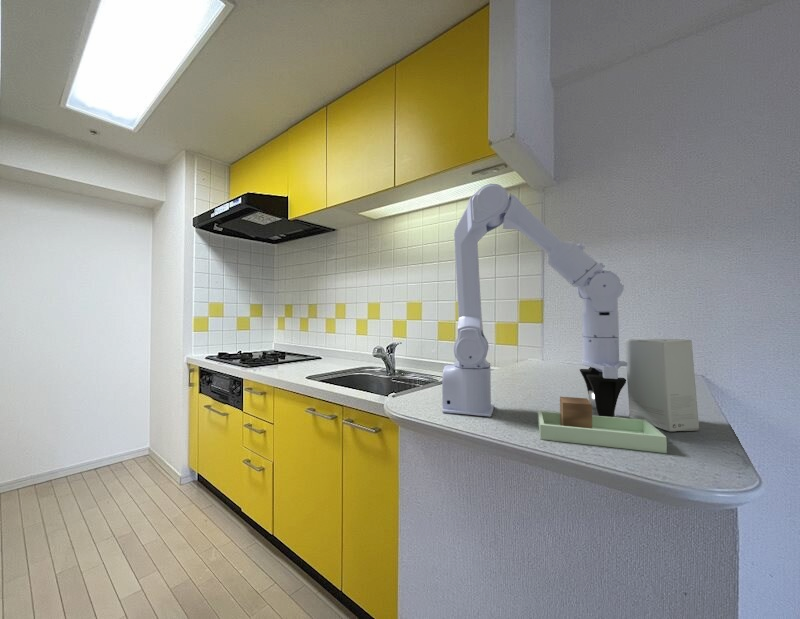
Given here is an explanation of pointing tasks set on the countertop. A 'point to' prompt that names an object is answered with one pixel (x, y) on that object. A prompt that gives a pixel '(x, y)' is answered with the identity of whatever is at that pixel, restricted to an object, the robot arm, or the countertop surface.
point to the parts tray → (604, 432)
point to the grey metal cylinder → (592, 401)
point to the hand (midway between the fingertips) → (601, 411)
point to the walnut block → (575, 412)
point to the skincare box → (662, 383)
